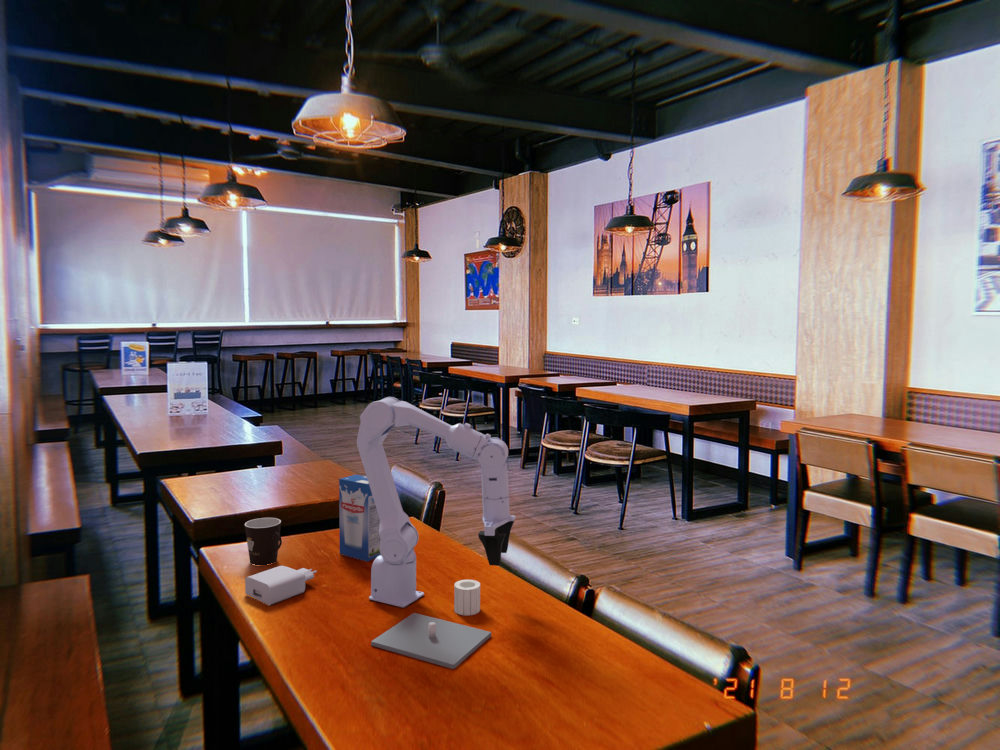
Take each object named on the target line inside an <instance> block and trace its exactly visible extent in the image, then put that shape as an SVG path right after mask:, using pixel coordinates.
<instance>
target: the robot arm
mask: <svg viewBox="0 0 1000 750" xmlns="http://www.w3.org/2000/svg"><path fill="white" fill-rule="evenodd" d="M359 419H360V423H359V427H358V433H357V438H356V447H357V450H358V454H359V456H360V460H361V462H362V467H363V468H364V473H365V476H367V479H368V482H369V486H370V489H371V492H372V495H373V499H374V502H375V505H376V508H377V512H378V515H379V518H380V526H379V536H380V554H381V555H379V556H378V557H377V558H375V559H373V562H372V564H371V568H370V596H368V599H369V600H371V601H375V602H379V603H383V604H387V605H391V606H395V607H399V608H406V607H407V606H409V605H410V604H413V602H415V601H417V600H419V598H421V597H423V596H424V595H425V593H424V592H423V591H418V590H417V554H416V552H415V549H414V548H415V547H416V546H417V544H418V543H419V533H418V529H416V527H415V526H414V525H413V524H412V522H411V520H410V517H409V515H408V514H407V513H406V512H405V511H404V509H403V506H402V504H401V500H400V497H399V493H398V490H397V487H396V484H395V481H394V478H393V474H392V470H391V468H390V464H389V462H388V457H387V454H386V452H385V449H384V445H383V443H384V441H385V439H386V438H387V436H388V435H389V433H390V431H391V430H392V429H393V428H401V427H406V426H408V427H409V426H412V427H414V428H417V429H420V430H422V431H424V432H427V433H428V434H429V433H430V434H431V435H433V436H436V437H439V438H440V439H443V440H444V441H445V443H446V445H447V447H448V448H449V449H451V450H453V451H455V452H458V453H459V454H461V455H464V456H465V457H468V458H470V459H472V460H475V461H476V460H477V461H478V464H479V465H480V467H481V498H482V501H481V502H482V519H481V520H482V523H483V526H484V527H483V530H480V531H479V532H478V539H479V541H480V542H481V544H482V545H483V549H484V551H485V554H486V557H487V558H486V559H487V561H488V564H489V566H500V564H501V560H502V554H506V553H507V552H508V548H509V541H510V540H509V539H510V536H511V535H510V534H511V531H512V529H513V525H514V524H515V520H516V515H512V514H510V513H511V512H510V511H511V510H510V490H509V485H510V484H509V474H508V465H507V464H508V462H507V461H506V460H507V458H508V457H509V448H508V447H509V446H508V445H507V444H506V442H505V441H504V440H502V439H501V438H499V437H492V435H491V434H490V433H486V434H484V433H482V432H480V431H478V430H476V429H474V428H471V427H472V425H471V424H470V423H468V422H465V423H464V424H462V423H461V422H459V423H456V424H454V425H451V424H449V423H447V422H445V421H443V420H441V419H440V418H438V417H436V416H435V415H432V414H430V413H428V412H427V411H424V410H423V409H420V408H419V407H416V406H415V405H413V404H412V403H409V402H408V401H404V400H399V399H398V398H396V397H394V396H387V397H384V398H382V399H380V400H376V401H372V402H370V403H369V404H368V405H366V407H365V409H364V410H363V411H362V413H361V414H360V415H359Z"/></svg>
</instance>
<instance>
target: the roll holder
mask: <svg viewBox="0 0 1000 750" xmlns="http://www.w3.org/2000/svg"><path fill="white" fill-rule="evenodd" d="M491 637H492V631H487V630H484V629H481V628H477V627H472V626H468V625H465V624H461V623H457V622H452V621H448V620H444V619H441V618H436V617H433V616H428V615H425V614H424V615H423V614H421V613H417V612H413V613H412V614H410V615H409V616H407V617H405V618H404V619H402V620H401V621H399V622H398V623H397V624H395V625H394V626H392V627H390V628H389V629H387V630H386V631H384V632H383V633H381V634H380V635H378V636H377V637H376V638H374V639H372V640H371V642H370V644H371V645H370V646H372V647H376V648H379V649H382V650H386V651H389V652H393V653H395V654H400V655H403V656H406V657H411V658H413V659H417V660H421V661H423V662H424V661H425V662H426V663H427V662H428V663H430V664H434V665H436V666H437V665H438V666H441V667H444V668H448V669H451V670H455V669H456V668H457V667H458V666H460V665H461V663H462V662H464V661H465V660H466V659H467V658H468V657H469V656H471V655H472V654H473V653H474V652H475V651H476V650H477V649H479V647H481V646H482V645H483V644H484V643H485V642H486V641H487V640H489V639H490V638H491Z"/></svg>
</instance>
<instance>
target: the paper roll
mask: <svg viewBox="0 0 1000 750" xmlns="http://www.w3.org/2000/svg"><path fill="white" fill-rule="evenodd" d="M453 597H454V601H453V602H454V605H453V608H454V609H453V611H454V613H455V614H458V615H461V616H473V615H477V614H478V613H479V612H481V582H479V581H478V580H475V579H461V580H458V581H456V582H454V594H453Z"/></svg>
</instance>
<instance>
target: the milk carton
mask: <svg viewBox="0 0 1000 750" xmlns="http://www.w3.org/2000/svg"><path fill="white" fill-rule="evenodd" d="M338 489H339V490H338V493H339V494H338V496H339V497H338V498H339V499H338V501H339V502H338V507H339V508H338V509H339V513H338V514H339V519H338V520H339V523H338V524H339V526H338V527H339V555H341V554H343V555H342V556H345V555H346V556H345V557H348V556H349V558H352V557H353V559H356V558H357V559H356V560H359V559H360V561H363V560H364V562H370V561H372V559H373V560H375V559H376V558H377V557H378V556H379V555H381V554H380V536H379V526H380V518H379V515H378V512H377V508H376V505H375V502H374V499H373V495H372V492H371V489H370V486H369V482H368V479H367V476H366V475H362V474H352V475H349V476H344V477H342V478H341V477H340V478H339V479H338ZM374 558H375V559H374Z"/></svg>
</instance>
